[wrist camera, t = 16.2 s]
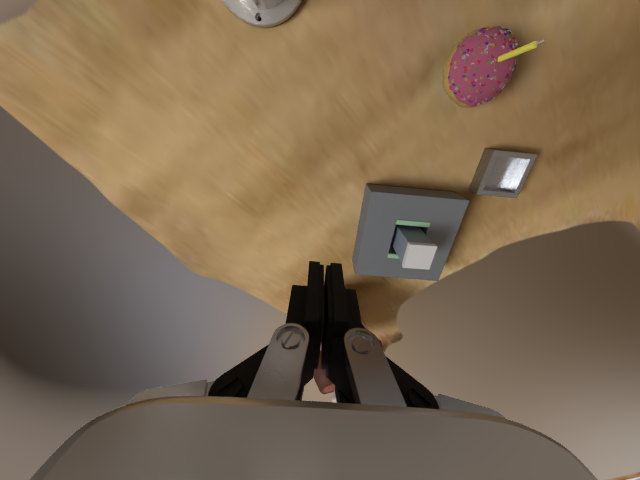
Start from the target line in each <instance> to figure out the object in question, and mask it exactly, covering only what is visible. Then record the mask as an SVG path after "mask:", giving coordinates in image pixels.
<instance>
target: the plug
mask: <svg viewBox="0 0 640 480" xmlns="http://www.w3.org/2000/svg"><path fill="white" fill-rule="evenodd" d="M391 244H392V246H393V248H394V250H395V252H396V254H397V256H398V257H399V259H400V261H401V263H402V267H403V268H413V269H427V270H429V269H430V266H431V263H432V261H433V258H434V255H435V252H436V249H437V245H436V244H433V242H432V241H431V240H430V239H429V238H428V237H427V236H426V234H425V233H424V232H423V231H422V230H421V229H420V228H419V226H408V225H396V226H395V230H394V233H393V237H392V241H391Z"/></svg>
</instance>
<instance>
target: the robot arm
mask: <svg viewBox="0 0 640 480" xmlns="http://www.w3.org/2000/svg"><path fill="white" fill-rule="evenodd" d="M222 1H223V3H224V4H225V5H226V6H227V8H228V9H229V10H230V11H231V12H232V13H233V14H234V15H235V16H236V17H238V18H239V19H241V20H242V21H243V22H245V23H247V24H250V25H252V26H255V27H261V28H266V27H273V26H276V25H279V24H281V23H283V22H284V21H286V20H288V19H289V18H290V17H291V16H292V15H293V14H294V13H295V11H296V10H297V8H298V7H299V5H300V4H301V2H302V0H222ZM260 17H261V18H262V20H261V21H259V20H258V19H259V18H260ZM320 348H321V369H323V370H326V378H328V379H329V380H330V381H331V382H332V383H333V384H334V385H335V395H336V401H337V403H333V402H316V401H302V396H303V392H304V386H305V385H306V384H307V383H308V382H309V381H310V380H311V379H312V378H313V375H314V369H318V363H319V356H320ZM30 480H597V478H596V477H595V476H594V475H593V474H592V473H591V472H590V471H589V469H588V468H587V467H586V466H585V465H584V464H583V463H582V462H581V461H580V460H579V459H578V458H577V457H576V456H575V455H574V454H573V453H571V452H570V451H569V450H568V449H567V448H565V447H564V446H563V445H561V444H560V443H558V442H556V441H555V440H553V439H552V438H550V437H548V436H546V435H544V434H542V433H541V432H539V431H536V430H534V429H531V428H529V427H527V426H525V425H523V424H520V423H517V422H514V421H511V420H508V419H506V418H505V417H503V416H502V415H501V414H500V413H498V412H497V411H494V410H492V409H490V408H486V407H483V406H479V405H476V404H473V403H469V402H465V401H462V400H459V399H455V398H452V397H448V396H445V395H442V394H438V396H434V395H433V394H432V393H431V392H430V391H429V390H428V389H427V388H426V387H424V386H423V385H422V384H421V383H419V382H418V381H416V380H415V379H414V378H413V377H412V376H410V375H409V374H408V373H406V372H405V371H404V370H403V369H401V368H400V367H399V366H397V365H396V364H395V363H394V362H392V361H391V360H390V359H389V358H387V357H386V356H385V354H384V352H383V349H382V347H381V345H380V342H379V340H378V339H377V337H376V336H375V335H374V334H373V333H372V332H370V331H369V330H366V329H363V326H362V321H361V316H360V311H359V305H358V300H357V295H356V291H355V290H353V289H345V286H344V279H343V271H342V264H339V263H331V265H327V266H326V274H325V282H324V265H320V262H314V261H309V273H308V285H307V286H300V285H292V290H291V296H290V302H289V307H288V313H287V320H286V324H284V325H282V326H280V327H278V328H277V329H276V330H275V332H274V334H273V336H272V338H271V341H270V343H269V345H267V346H266V347H264V348H263V349H261V350H260V351H258V352H257V353H255V354H253V355H252V356H250V357H249V358H247V359H246V360H244V361H243V362H241V363H240V364H238V365H237V366H235V367H234V368H232V369H231V370H229V371H227V372H226V373H224V374H223V375H221V376H220V377H219V378H218V379H216V380H215V381H213V382H207V380H201V381H195V382H189V383H183V384H177V385H170V386H164V387H158V388H152V389H148V390H145V391H142V392H141V393H139V394H137V395H136V396H134V397H133V398H132V399H131V400H130V401H129V402H128V403H127V404H126V405H125V406H122V407H120V408H116V409H114V410H111V411H109V412H107V413H104V414H103V415H100V416H98V417H96V418H95V419H93V420H91V421H90V422H88V423H86V424H85V425H83V426H82V427H81V428H80V429H78V430H77V431H76V432H75V433H73V434H72V435H71V436H70V437H69V438H68V439H67V440H66V441H65V442H64V443H63V444H62V445H61V446H60V447H59V448H58V449H57V450H56V451H55V452H54V453H53V454H52V455H51V456H50V457H49V458H48V459H47V461H46V462H45V463H44V464H43V465H42V466H41V467H40V469H38V470H37V472H36V473H35V474H34V475H33V476H32V477H31V479H30Z"/></svg>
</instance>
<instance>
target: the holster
mask: <svg viewBox="0 0 640 480" xmlns="http://www.w3.org/2000/svg"><path fill="white" fill-rule="evenodd" d="M536 157H537V154H532V153H526V152H516V151H506V150H496V149H486V148H485V149H484V152H483V154H482V157H481V159H480V162H479V165H478V167H477V170H476V173H475V175H474V178H473V180H472V183H471V186H470V188H469V191H470V192H472V193H474V194H477V195H488V196H499V197H509V198H517V197H518V195H519V193H520V191H521V188H522V186H523V184H524V182H525V180H526V178H527V176H528V174H529V172H530V170H531V168H532V166H533V164H534V162H535V160H536Z"/></svg>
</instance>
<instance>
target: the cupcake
mask: <svg viewBox="0 0 640 480" xmlns="http://www.w3.org/2000/svg"><path fill="white" fill-rule="evenodd" d="M510 31H511V30H510ZM510 31H508V29H505V28H504V26H502V27H500V26H499V27H488V28H482V29H478V30H475V31H473V32H471V33H469V34H468V35H467V36H466V37H464V38H463V39H462V40H461V41H460V42H459V43H458V44H457V45H456V46H455V47H454V48H453V50H452V51H451V53H450V55H449V57H448V59H447V61H446V63H445V65H444V68H443V88H444V90H445V92H446V94H447V95H448V96H449V98H450V99H452V100H453V101H454V102H456V103H457V105H459V106H461V107H467V108H470V107H475V106H478V105H481V104H485V102H488V101H490V100H492V99H495V97H496V96H497V95H498V94H499V93H500V92H501V91H502V89H503V88H504V87H505V86H506V84H507V83H508V82H509V81H510V79H511V76H512V74H513V72H514V69H515V67H516V61H517V60H516V59H517V57H518V55H519V54H522V53H524V52H527V51H529V50H532V49H534V48H536V47H537V45H538V44H540V43H542V42H544V41H545V39H544V40H541V41H539V42H537V41H534V42H531V43H529V44H526V45H524V46H522V47H519V48H516V45H518V43H516V41H515V40H516V39H515V37H514V35H513V34H512V35H513V36H512V35H511V34H510ZM511 33H512V31H511ZM513 37H514V38H513Z"/></svg>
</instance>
